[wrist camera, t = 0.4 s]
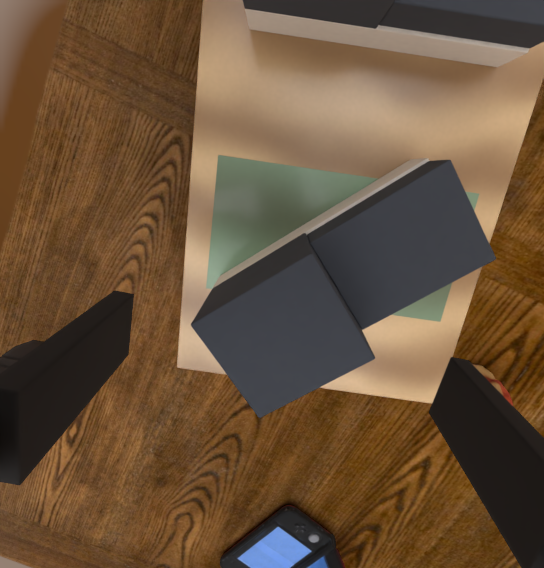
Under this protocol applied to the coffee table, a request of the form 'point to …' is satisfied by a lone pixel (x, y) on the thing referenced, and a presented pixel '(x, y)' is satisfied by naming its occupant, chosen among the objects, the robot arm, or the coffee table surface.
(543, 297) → the coffee table surface
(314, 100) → the low wooden bench
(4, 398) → the robot arm
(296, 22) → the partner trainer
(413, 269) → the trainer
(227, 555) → the handheld console
